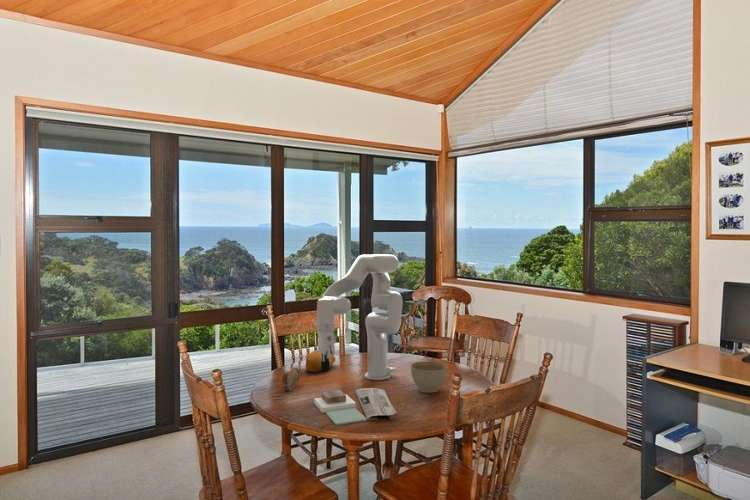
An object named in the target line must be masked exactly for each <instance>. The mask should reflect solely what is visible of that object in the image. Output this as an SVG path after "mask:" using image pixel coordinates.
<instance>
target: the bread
mask: <svg viewBox="0 0 750 500" xmlns="http://www.w3.org/2000/svg"><path fill="white" fill-rule="evenodd" d="M334 355H335V354H334ZM334 355H332V354H331V353H330V356H331V358H330V364H329V369H330V368H331V367H332V366H333V365H334V364H335V362H336V357H335V356H334ZM321 361H323V360H321V353H320V352H319V351H318V350H313V351H311V352H309V353H308V352H307V354H306V355H305V368H306V369H305V370H307V371H308V372H311V373H318V372H321V371H322V370H321Z"/></svg>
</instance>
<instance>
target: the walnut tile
mask: <svg viewBox="0 0 750 500" xmlns="http://www.w3.org/2000/svg"><path fill="white" fill-rule="evenodd" d="M346 395H347V394H346ZM346 395H345V393H344V392H343V391H342V390H340V389H335V390H330V391H329V390H328V391H322V392H321V396H320V398H322V399H323V400H324V401H325V402H326V403H327V404H331V403H338V402H345V401H346Z"/></svg>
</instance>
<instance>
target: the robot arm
mask: <svg viewBox="0 0 750 500" xmlns="http://www.w3.org/2000/svg"><path fill="white" fill-rule="evenodd" d="M399 263H400V262H399V258H398V257H397V256H396V255H394V254H380V253H373V254H361V255H358V256H357V257H356V259H355V261H353V264H352V265H351V266H350V268H349V269H348V271H347V273H346V274H345V275H344V276H343V277H341V278H340V279H338V280H336V281H335V282H333V283H332V284H331V285H329V287H327V289H326V290H325V291H324V293H323V294H322V297H321V298H318V300H316V331H317V332H318V333H317V335H318V337H317V351H319V352H320V353H321V360H323V361H321V370H322V371H325V372H326V371H327V372H328V371H330V368H329V364H330V358H331V356H330V353H331V354H332V355H335V353H336V348H335V326H336V325H335V322H336V321H335V320H336V319H335V317H336V315H344V314H347V313H349V312H350V310H351V308H352V303H351V301H350V300H349V298H347V297H345V296H341V295H343V294H346V293H348V292H349V293H350V292H353V291H354V290H358V289H360V287H361V286H362V285H363V282H364V281H365V279H366V278H367V276H368V275H369V274H371V277H372V279H373V281H372V290H371V291H372V292H371V301H370V302H371V307H372V308H373V309H375V310H379V311H387V313H386V312H377V311H376V312H373V311H372V312H370V313H369V314H368V315H366V317H365V320H364V321H365V322H364V323H365V328H366V333H367V335H366V336H367V372H366V373H364V378H365V379H367V380H372V381H384V380H388V379H390V378H391V373H393V372H394V373H395V372H397V368H396V367H389V366H388V340H387V337H386V334H388V335H395V334H397V333H398V332H399V330H400V327H401V322H402V321H401V320H402V315H403V314H402V313H403V305H404V304H403V303H404V302H403V296H402V295H401V293H400V292H398V291H393V290H392V291H391V279H390V275H389V273H394V272H396V271H397V269H398V267H399Z"/></svg>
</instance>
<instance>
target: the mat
mask: <svg viewBox="0 0 750 500" xmlns="http://www.w3.org/2000/svg"><path fill="white" fill-rule="evenodd" d="M325 415H327V417H328V418H329V419H330V420H331V421H332V422H333V424H334V425H336V426H340V425H346V424H352V423H358V422H366V421H367V418H366V416H365V415H363V414H362V413H361V412H360V411H359V410H358V409H357V407H356V408H355V407H351V408H344V409H337V410H330V411H325Z"/></svg>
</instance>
